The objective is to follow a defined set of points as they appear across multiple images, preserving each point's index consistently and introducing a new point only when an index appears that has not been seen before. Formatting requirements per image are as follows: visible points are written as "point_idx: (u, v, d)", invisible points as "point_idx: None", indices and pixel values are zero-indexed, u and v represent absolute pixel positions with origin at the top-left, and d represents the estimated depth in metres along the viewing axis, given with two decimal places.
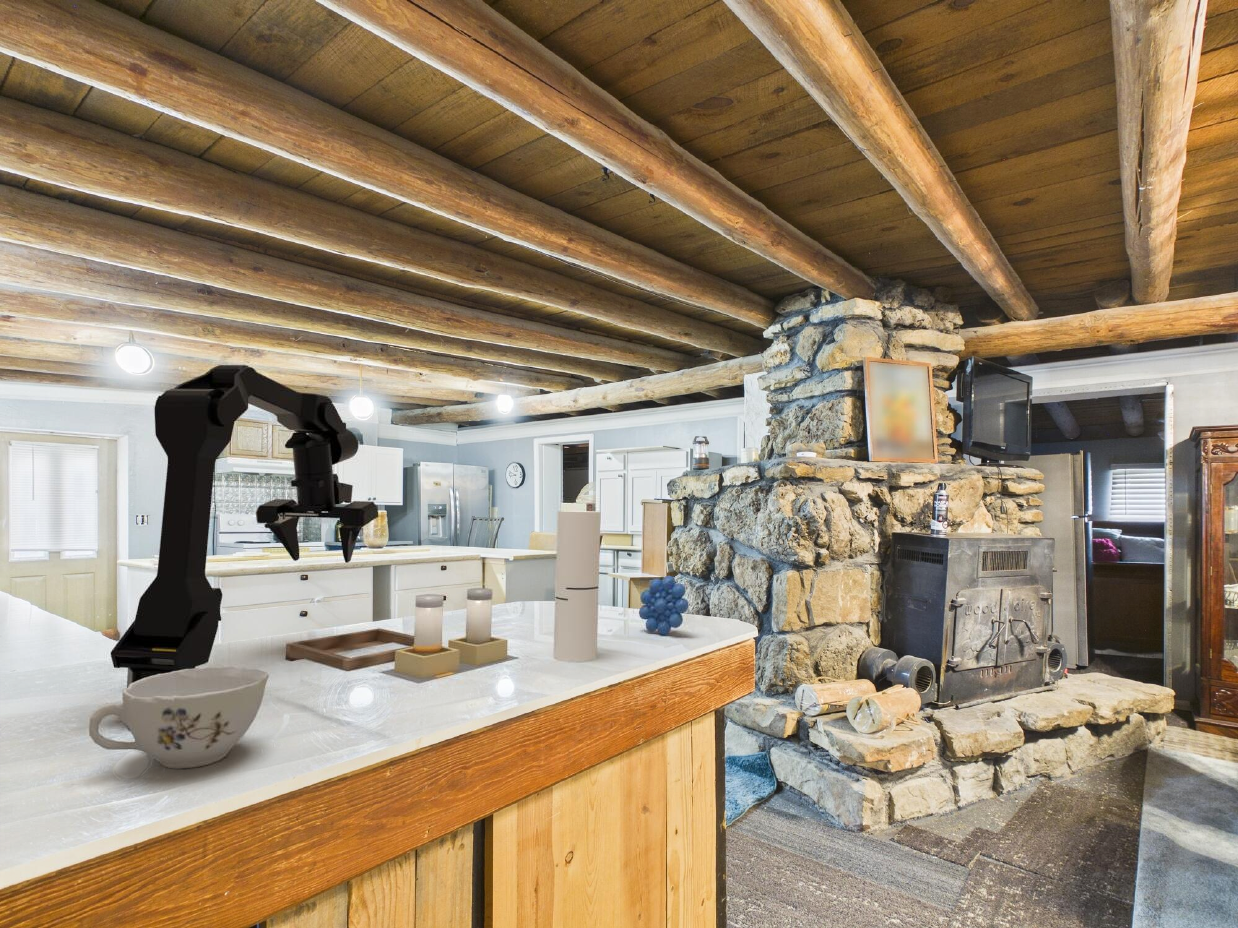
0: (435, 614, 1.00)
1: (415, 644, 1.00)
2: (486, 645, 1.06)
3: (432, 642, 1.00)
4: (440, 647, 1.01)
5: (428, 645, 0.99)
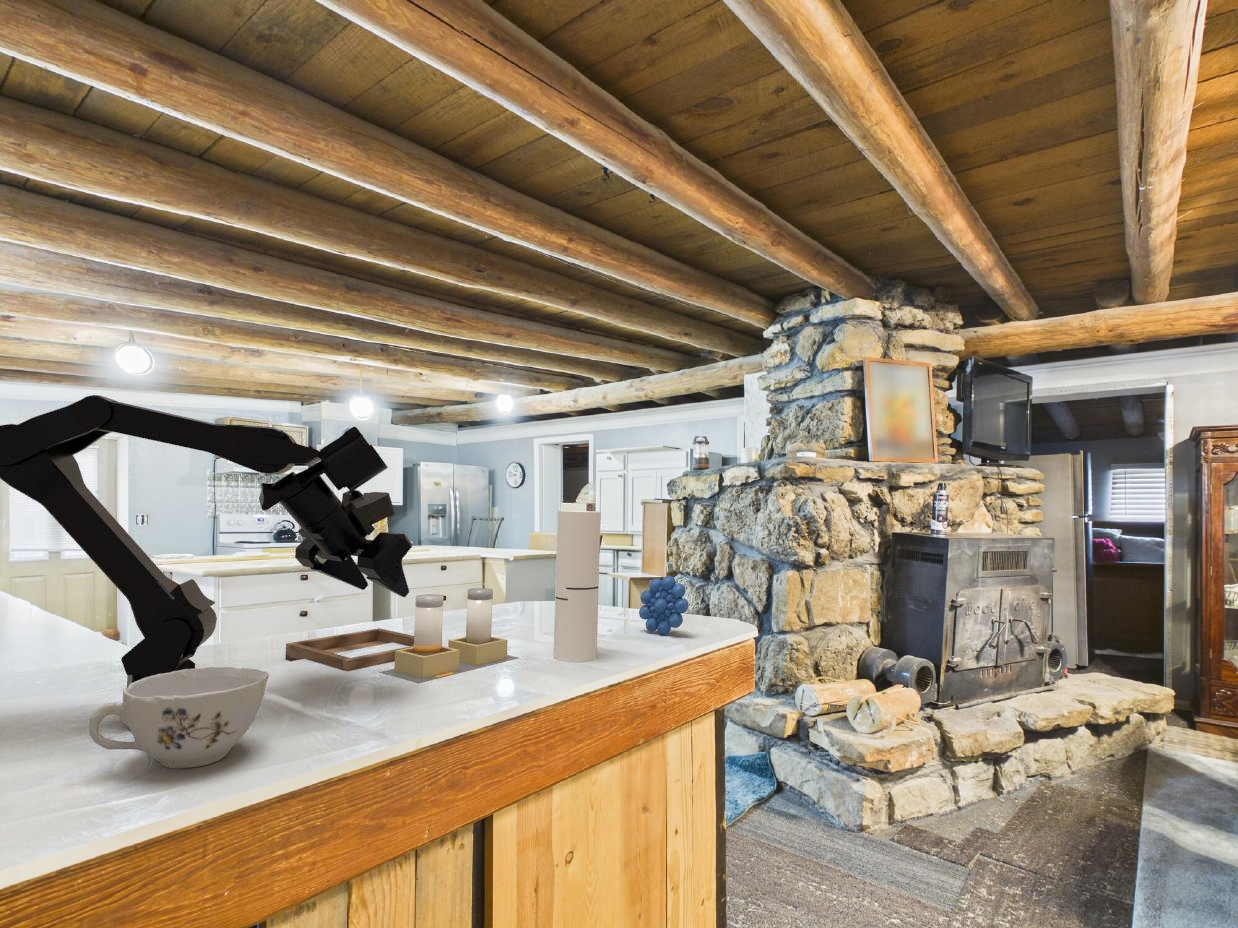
0: (435, 614, 1.00)
1: (415, 644, 1.00)
2: (486, 645, 1.06)
3: (432, 642, 1.00)
4: (440, 647, 1.01)
5: (428, 645, 0.99)
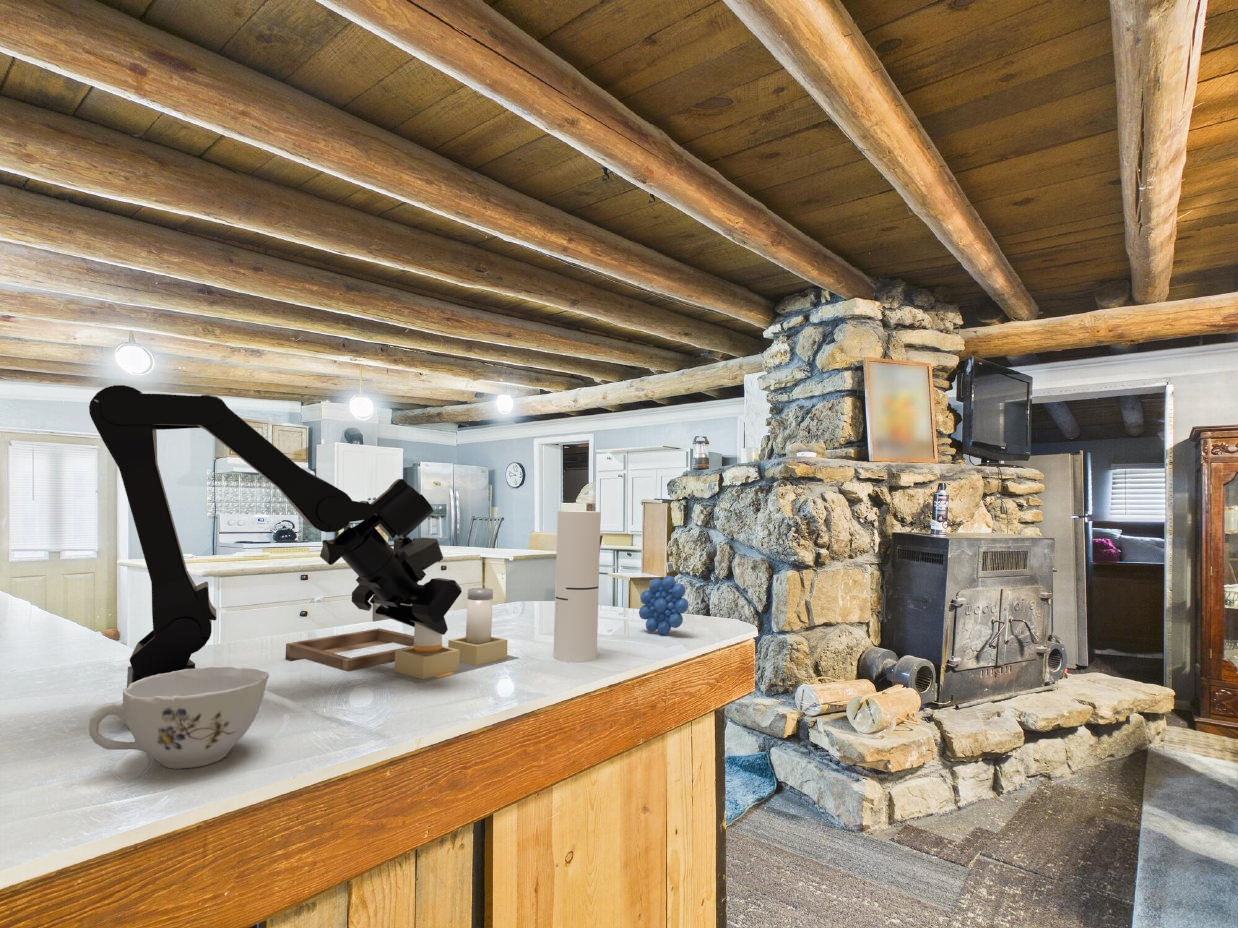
0: None
1: (415, 644, 1.00)
2: (486, 645, 1.06)
3: (432, 642, 1.00)
4: (440, 647, 1.01)
5: (428, 645, 0.99)
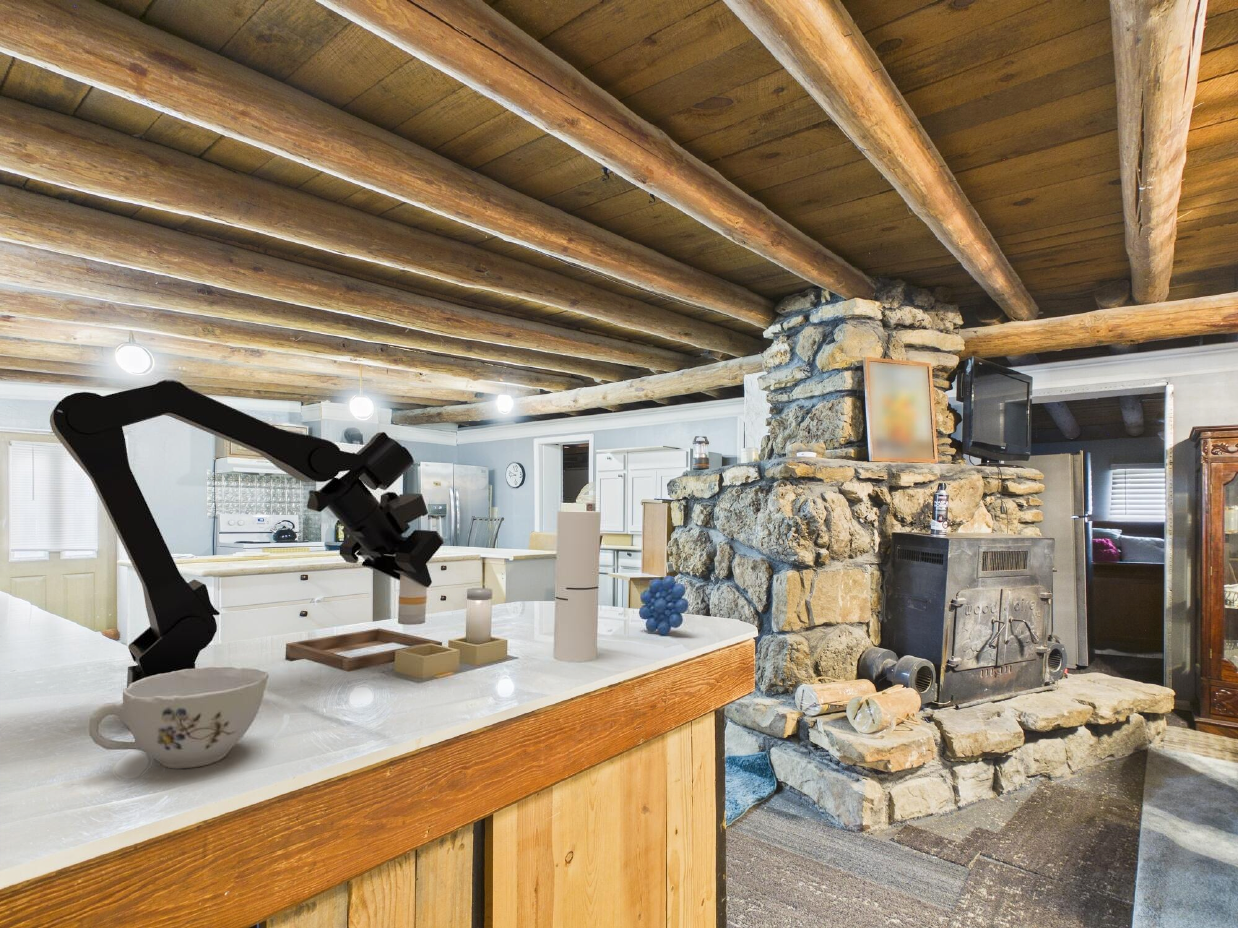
0: None
1: (400, 596, 1.03)
2: (486, 645, 1.06)
3: (416, 594, 1.03)
4: (424, 599, 1.04)
5: (412, 596, 1.02)
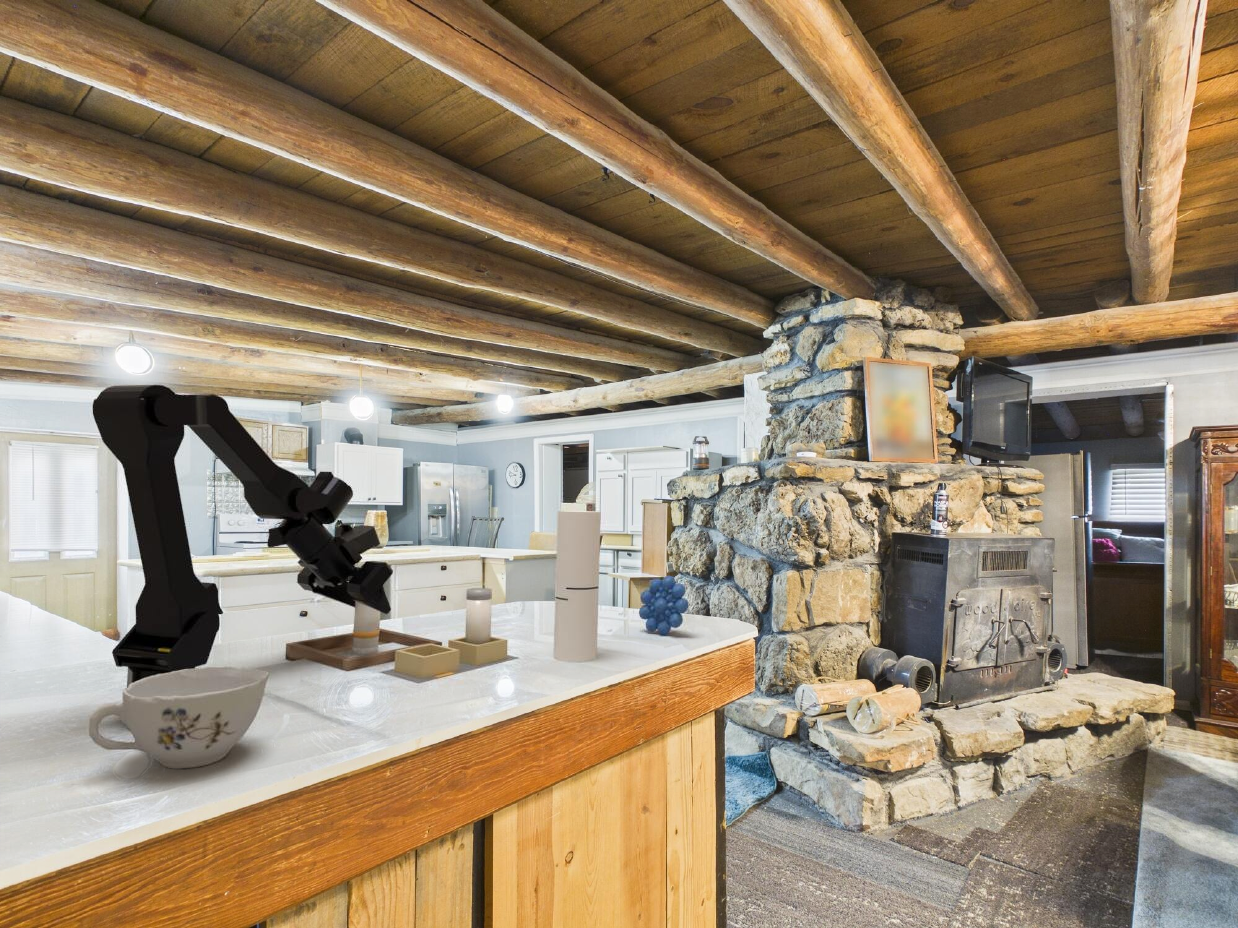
0: None
1: (354, 630, 1.11)
2: (486, 645, 1.06)
3: (369, 629, 1.10)
4: (377, 633, 1.12)
5: (365, 631, 1.10)
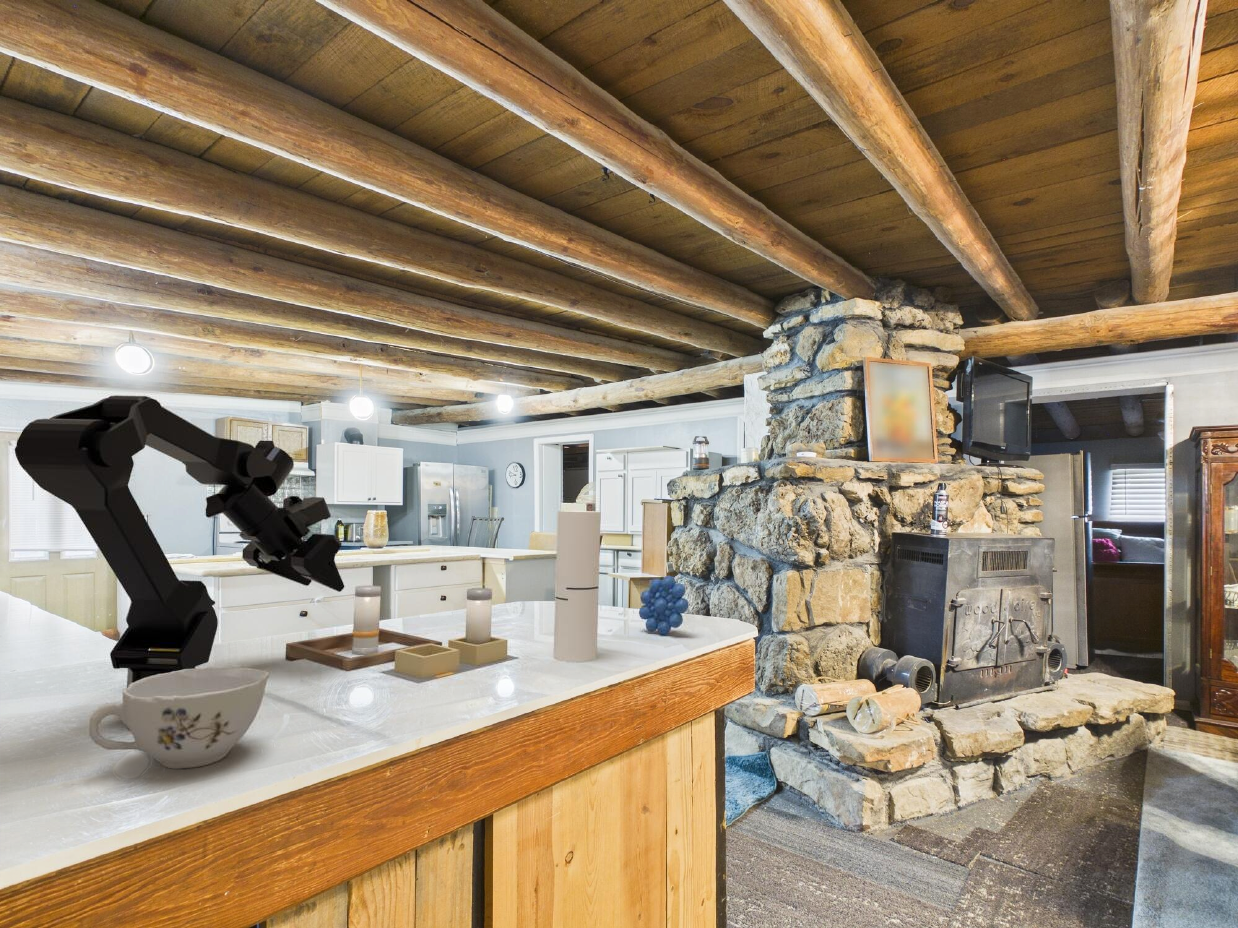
0: (372, 602, 1.11)
1: (354, 630, 1.11)
2: (486, 645, 1.06)
3: (369, 628, 1.10)
4: (377, 633, 1.12)
5: (365, 631, 1.10)
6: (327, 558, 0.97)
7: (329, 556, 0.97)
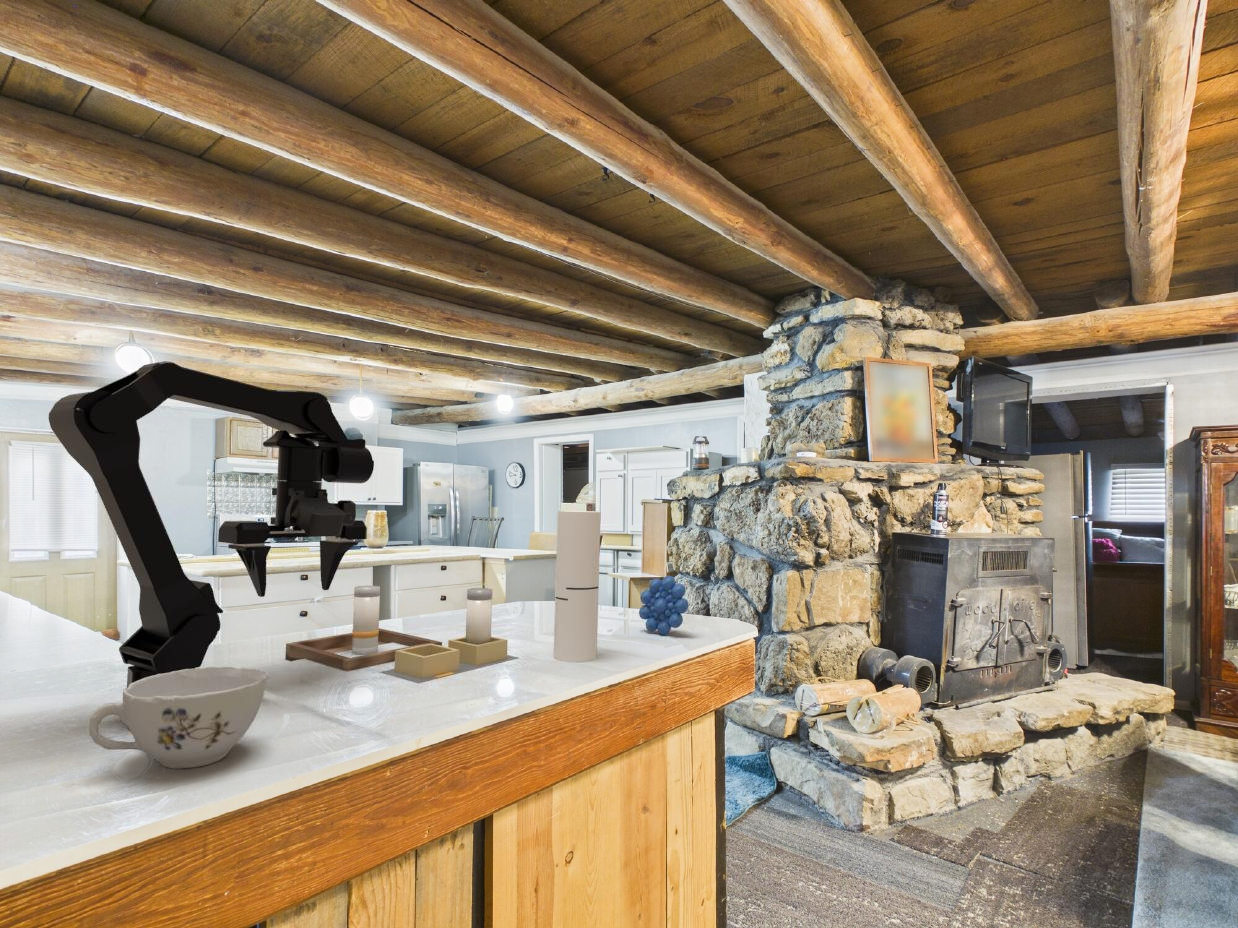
0: (371, 603, 1.11)
1: (353, 630, 1.11)
2: (486, 645, 1.06)
3: (368, 628, 1.10)
4: (377, 633, 1.12)
5: (365, 631, 1.10)
6: (227, 540, 0.88)
7: (228, 540, 0.88)
